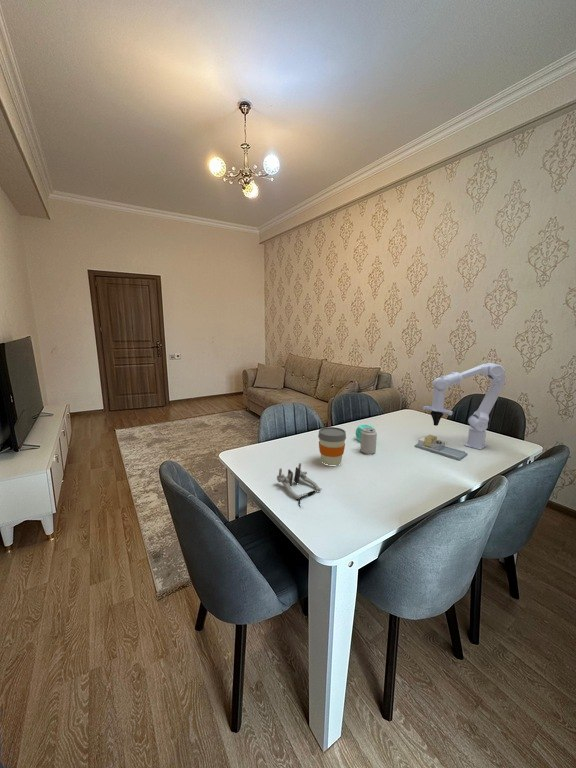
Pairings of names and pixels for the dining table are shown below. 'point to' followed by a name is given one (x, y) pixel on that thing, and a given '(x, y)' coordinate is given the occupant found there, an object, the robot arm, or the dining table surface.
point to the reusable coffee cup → (331, 445)
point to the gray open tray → (443, 451)
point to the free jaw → (438, 445)
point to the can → (368, 440)
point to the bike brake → (298, 474)
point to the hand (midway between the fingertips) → (435, 425)
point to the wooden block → (429, 440)
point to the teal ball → (360, 428)
